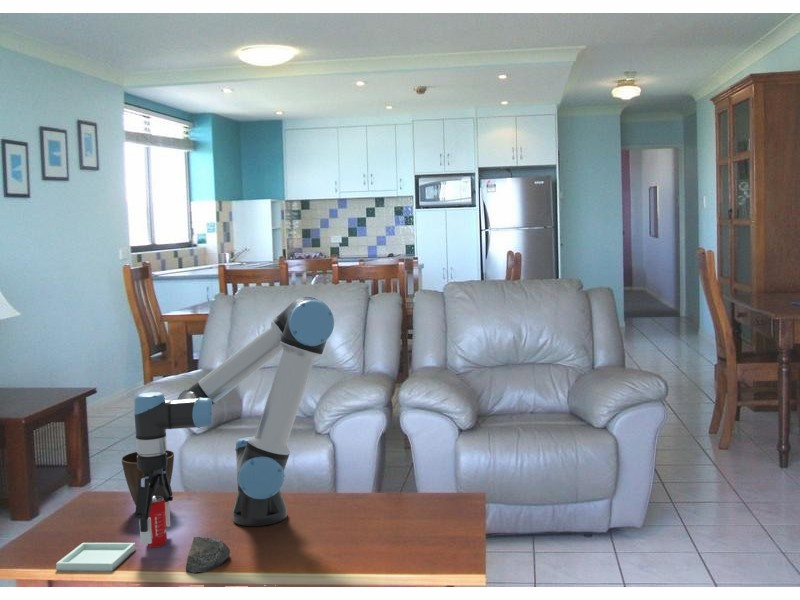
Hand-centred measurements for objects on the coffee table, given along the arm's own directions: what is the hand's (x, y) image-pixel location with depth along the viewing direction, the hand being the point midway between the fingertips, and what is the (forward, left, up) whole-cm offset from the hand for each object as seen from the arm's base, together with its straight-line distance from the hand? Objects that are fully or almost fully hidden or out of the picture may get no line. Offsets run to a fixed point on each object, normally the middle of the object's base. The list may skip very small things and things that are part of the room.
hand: (155, 534), depth 224 cm
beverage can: (0, 0, -3) cm, 3 cm away
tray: (+11, +11, -3) cm, 16 cm away
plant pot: (+13, -29, -3) cm, 32 cm away
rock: (-18, +12, -3) cm, 22 cm away
